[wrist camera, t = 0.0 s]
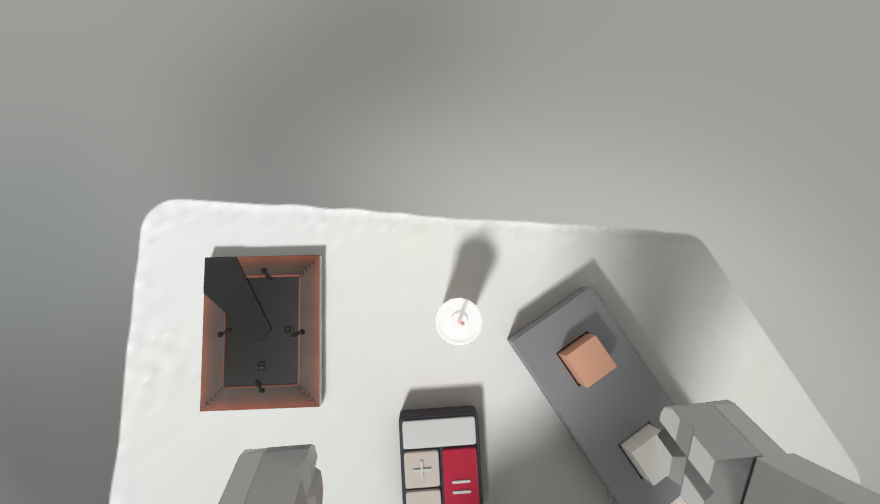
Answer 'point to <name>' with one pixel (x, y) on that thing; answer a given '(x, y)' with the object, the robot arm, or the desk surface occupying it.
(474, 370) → the desk surface
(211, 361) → the picture frame
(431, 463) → the calculator
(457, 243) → the desk surface
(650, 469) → the key white
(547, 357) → the console
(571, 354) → the key terracotta
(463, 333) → the beverage cup
